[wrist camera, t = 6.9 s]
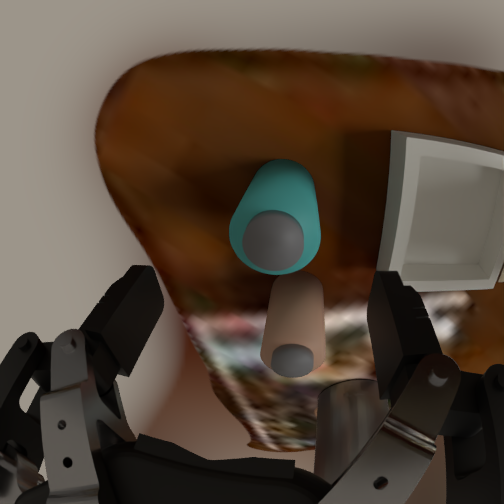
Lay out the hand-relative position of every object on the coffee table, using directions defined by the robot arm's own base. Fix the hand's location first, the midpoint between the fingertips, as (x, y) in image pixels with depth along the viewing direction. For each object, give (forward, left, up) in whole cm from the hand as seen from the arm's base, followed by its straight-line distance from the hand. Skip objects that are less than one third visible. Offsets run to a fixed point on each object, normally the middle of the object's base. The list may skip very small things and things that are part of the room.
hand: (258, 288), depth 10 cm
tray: (-1, -13, -11) cm, 17 cm away
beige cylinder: (-9, -1, -11) cm, 15 cm away
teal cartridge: (0, 0, -11) cm, 11 cm away
